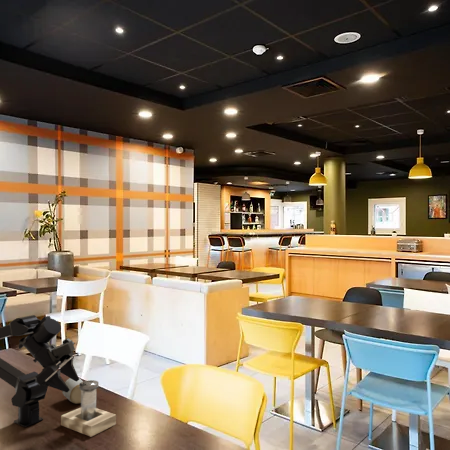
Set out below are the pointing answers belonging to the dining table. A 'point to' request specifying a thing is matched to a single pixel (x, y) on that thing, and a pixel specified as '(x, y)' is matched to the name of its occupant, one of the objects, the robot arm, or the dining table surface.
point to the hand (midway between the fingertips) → (73, 385)
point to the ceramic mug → (73, 391)
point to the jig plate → (88, 422)
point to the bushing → (88, 399)
